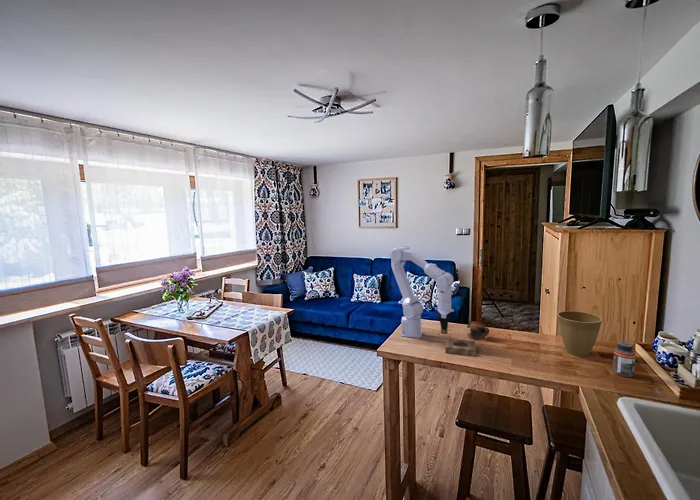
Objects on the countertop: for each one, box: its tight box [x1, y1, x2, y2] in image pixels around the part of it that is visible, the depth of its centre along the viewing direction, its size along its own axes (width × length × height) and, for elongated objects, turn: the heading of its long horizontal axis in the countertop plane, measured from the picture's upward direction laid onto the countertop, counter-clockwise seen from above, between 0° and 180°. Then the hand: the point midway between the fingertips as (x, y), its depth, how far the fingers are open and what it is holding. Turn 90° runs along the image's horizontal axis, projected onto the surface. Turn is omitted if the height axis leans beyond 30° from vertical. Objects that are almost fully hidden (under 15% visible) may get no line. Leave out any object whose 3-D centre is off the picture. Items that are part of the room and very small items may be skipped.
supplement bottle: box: [612, 341, 637, 378], centre depth 116 cm, size 6×6×11 cm
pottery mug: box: [466, 321, 490, 340], centre depth 154 cm, size 12×10×8 cm
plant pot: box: [557, 310, 603, 358], centre depth 133 cm, size 15×15×16 cm
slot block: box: [445, 337, 477, 357], centre depth 140 cm, size 12×10×2 cm
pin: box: [440, 325, 449, 335], centre depth 147 cm, size 3×3×7 cm
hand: (444, 328), depth 148 cm, fingers closed on pin, 3 cm apart
